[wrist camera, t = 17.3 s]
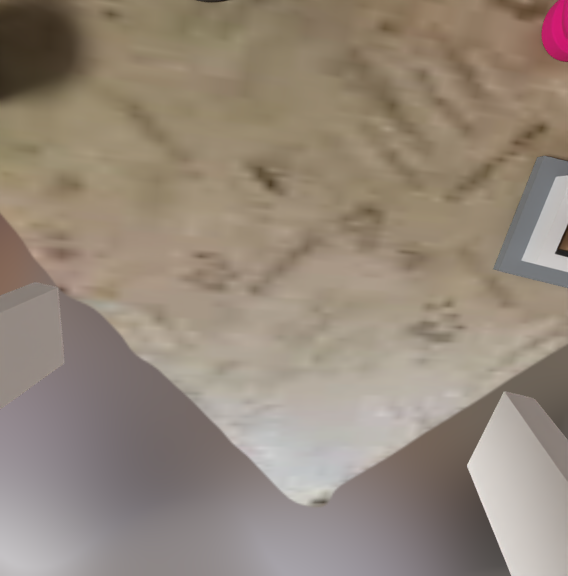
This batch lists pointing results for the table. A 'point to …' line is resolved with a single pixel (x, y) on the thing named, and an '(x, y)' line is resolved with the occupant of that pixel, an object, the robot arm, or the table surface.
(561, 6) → the pepper mill
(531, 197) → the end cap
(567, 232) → the wooden slat
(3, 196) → the table surface
